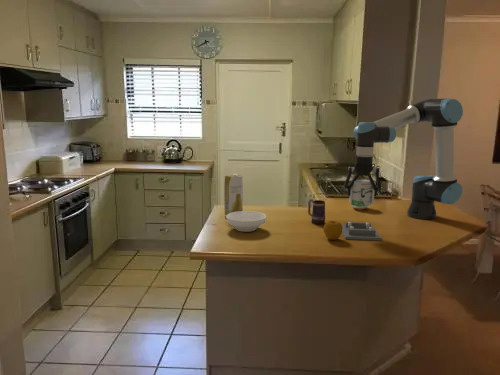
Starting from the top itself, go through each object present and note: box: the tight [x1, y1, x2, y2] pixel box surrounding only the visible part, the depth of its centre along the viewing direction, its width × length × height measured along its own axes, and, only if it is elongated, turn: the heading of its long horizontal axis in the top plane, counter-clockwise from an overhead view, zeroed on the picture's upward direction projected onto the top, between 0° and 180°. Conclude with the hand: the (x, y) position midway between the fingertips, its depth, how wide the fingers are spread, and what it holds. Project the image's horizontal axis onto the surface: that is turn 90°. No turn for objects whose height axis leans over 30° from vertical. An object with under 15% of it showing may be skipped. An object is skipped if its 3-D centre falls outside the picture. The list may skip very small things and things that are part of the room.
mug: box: [307, 198, 326, 225], centre depth 211 cm, size 10×7×12 cm
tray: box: [342, 221, 382, 242], centre depth 193 cm, size 16×20×4 cm
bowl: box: [225, 210, 267, 233], centre depth 197 cm, size 20×20×7 cm
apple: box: [323, 220, 343, 241], centre depth 183 cm, size 9×8×9 cm
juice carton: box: [223, 173, 244, 216], centre depth 221 cm, size 9×8×24 cm
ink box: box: [350, 179, 373, 207], centre depth 190 cm, size 9×5×12 cm, turn 119°
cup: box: [351, 205, 370, 211], centre depth 241 cm, size 12×12×10 cm
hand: (361, 202), depth 190 cm, fingers closed on ink box, 9 cm apart
